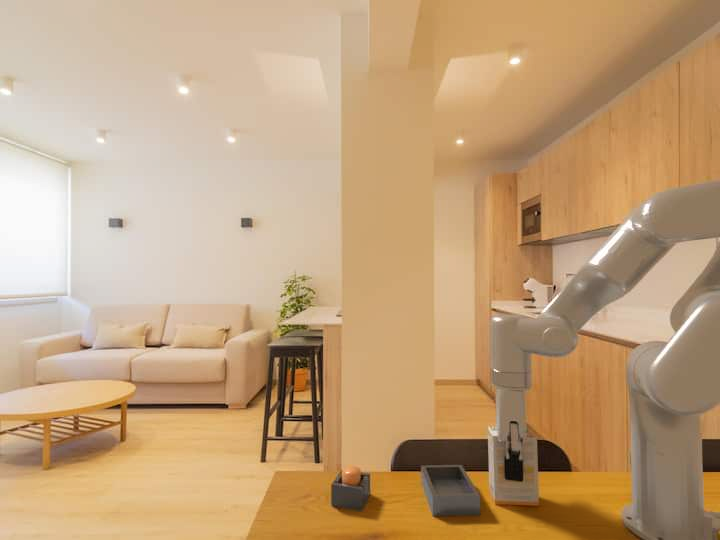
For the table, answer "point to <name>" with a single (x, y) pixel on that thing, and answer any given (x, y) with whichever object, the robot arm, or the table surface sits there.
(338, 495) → the button housing
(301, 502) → the table surface
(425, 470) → the tray
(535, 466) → the supplement box
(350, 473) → the button
